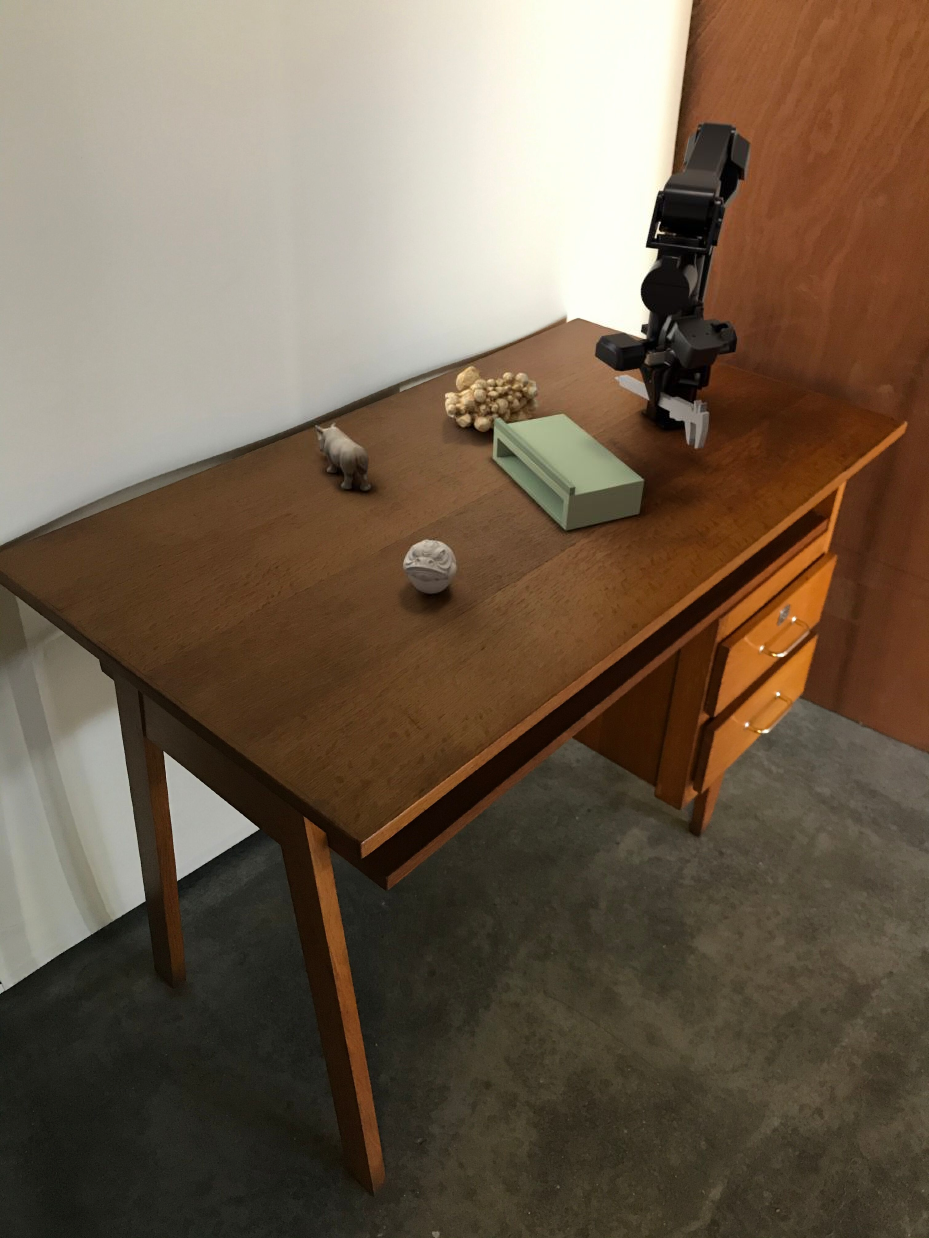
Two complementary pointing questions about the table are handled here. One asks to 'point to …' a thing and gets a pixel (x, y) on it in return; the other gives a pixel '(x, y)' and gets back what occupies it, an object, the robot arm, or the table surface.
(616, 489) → the desk shelf
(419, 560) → the frog figurine
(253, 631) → the table surface
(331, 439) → the rhino figurine
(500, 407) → the mineral formation
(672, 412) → the caliper
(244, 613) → the table surface
